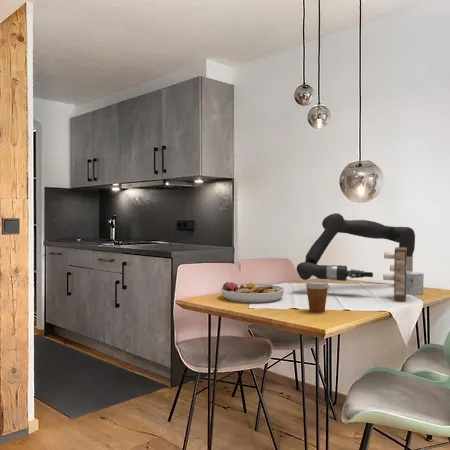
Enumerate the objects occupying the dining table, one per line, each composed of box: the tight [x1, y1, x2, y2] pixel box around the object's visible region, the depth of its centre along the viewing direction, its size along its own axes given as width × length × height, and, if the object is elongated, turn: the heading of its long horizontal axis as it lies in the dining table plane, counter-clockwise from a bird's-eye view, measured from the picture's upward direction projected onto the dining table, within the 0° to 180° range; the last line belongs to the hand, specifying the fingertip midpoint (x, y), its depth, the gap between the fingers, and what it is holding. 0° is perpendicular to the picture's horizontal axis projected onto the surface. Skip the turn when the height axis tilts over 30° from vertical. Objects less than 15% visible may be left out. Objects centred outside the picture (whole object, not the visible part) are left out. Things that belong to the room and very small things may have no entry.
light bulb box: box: [406, 271, 425, 296], centre depth 247 cm, size 11×7×11 cm, turn 25°
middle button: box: [389, 264, 407, 272], centre depth 228 cm, size 3×7×3 cm, turn 68°
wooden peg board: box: [393, 246, 407, 303], centre depth 232 cm, size 17×5×24 cm, turn 158°
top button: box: [383, 252, 395, 260], centre depth 238 cm, size 3×7×3 cm, turn 68°
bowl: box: [220, 281, 285, 304], centre depth 233 cm, size 30×30×8 cm
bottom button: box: [382, 273, 394, 282], centre depth 234 cm, size 3×7×3 cm, turn 68°
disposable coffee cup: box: [305, 280, 330, 313], centre depth 203 cm, size 10×10×12 cm
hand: (372, 274), depth 237 cm, fingers closed
